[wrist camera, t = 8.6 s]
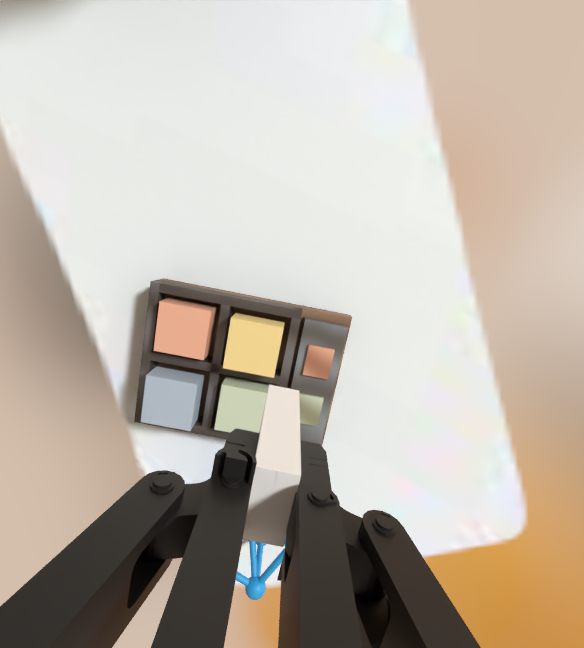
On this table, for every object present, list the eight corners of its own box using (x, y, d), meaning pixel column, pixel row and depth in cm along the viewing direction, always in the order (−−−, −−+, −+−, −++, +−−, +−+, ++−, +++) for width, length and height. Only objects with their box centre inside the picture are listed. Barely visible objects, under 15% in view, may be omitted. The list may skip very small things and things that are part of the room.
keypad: (163, 278, 44) (150, 281, 40) (350, 315, 44) (355, 321, 40) (147, 407, 47) (134, 421, 43) (321, 439, 48) (323, 456, 44)
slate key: (156, 366, 42) (146, 375, 39) (204, 375, 42) (197, 384, 39) (151, 410, 43) (140, 422, 40) (197, 419, 43) (190, 431, 40)
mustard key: (235, 312, 41) (230, 317, 38) (284, 322, 41) (283, 328, 38) (227, 359, 42) (222, 368, 39) (275, 368, 42) (273, 377, 39)
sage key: (226, 375, 43) (221, 384, 41) (272, 384, 44) (270, 393, 41) (219, 417, 45) (214, 429, 42) (264, 426, 45) (262, 438, 42)
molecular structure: (264, 539, 51) (256, 608, 41) (205, 502, 50) (182, 563, 40) (306, 489, 49) (309, 548, 39) (246, 449, 48) (233, 500, 38)
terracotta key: (169, 297, 42) (159, 301, 39) (217, 306, 42) (211, 311, 39) (163, 343, 43) (153, 350, 40) (209, 352, 43) (203, 360, 40)
